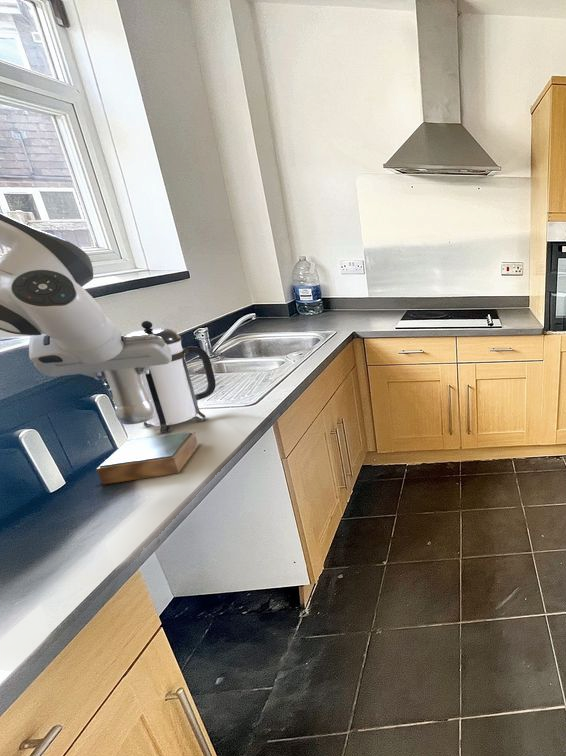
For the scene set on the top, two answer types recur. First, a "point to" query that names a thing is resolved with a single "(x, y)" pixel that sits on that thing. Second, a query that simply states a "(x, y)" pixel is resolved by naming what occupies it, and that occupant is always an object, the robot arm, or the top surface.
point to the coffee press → (174, 382)
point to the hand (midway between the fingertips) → (123, 374)
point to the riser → (148, 458)
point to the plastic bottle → (129, 396)
